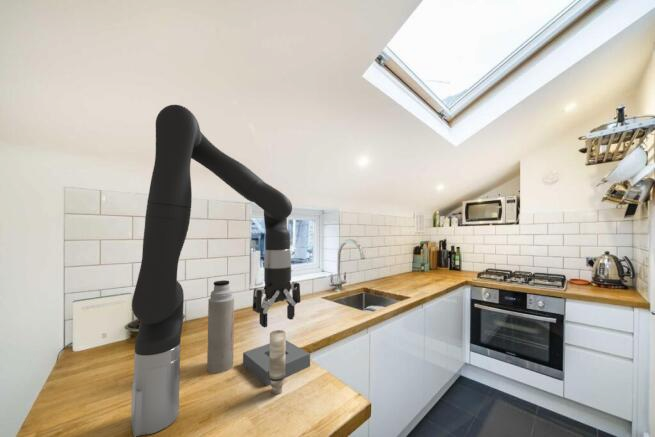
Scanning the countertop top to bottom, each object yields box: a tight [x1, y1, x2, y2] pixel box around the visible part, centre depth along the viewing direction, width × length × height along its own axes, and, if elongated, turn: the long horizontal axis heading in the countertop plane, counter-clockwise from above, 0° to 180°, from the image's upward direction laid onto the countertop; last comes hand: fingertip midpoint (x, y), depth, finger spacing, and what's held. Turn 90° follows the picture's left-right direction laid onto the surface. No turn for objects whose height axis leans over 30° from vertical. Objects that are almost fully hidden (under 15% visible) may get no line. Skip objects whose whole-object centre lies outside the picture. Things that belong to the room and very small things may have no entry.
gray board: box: [242, 339, 311, 387], centre depth 85 cm, size 16×16×4 cm
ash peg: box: [269, 329, 287, 395], centre depth 72 cm, size 4×4×16 cm
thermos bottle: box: [206, 279, 235, 374], centre depth 85 cm, size 8×8×28 cm
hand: (277, 322), depth 73 cm, fingers open, 8 cm apart
